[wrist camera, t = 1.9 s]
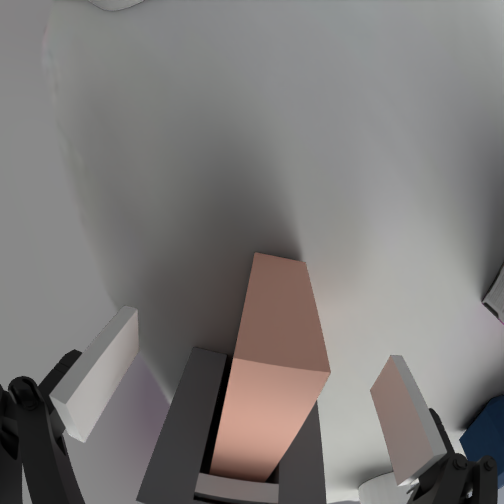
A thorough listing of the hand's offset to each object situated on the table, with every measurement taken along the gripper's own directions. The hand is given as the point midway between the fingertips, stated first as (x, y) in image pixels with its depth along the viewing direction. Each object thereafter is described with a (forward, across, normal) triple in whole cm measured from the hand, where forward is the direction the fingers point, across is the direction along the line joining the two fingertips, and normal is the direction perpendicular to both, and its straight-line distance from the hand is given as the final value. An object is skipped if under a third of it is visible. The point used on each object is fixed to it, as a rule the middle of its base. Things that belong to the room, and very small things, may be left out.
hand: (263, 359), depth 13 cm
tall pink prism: (+5, 0, -4) cm, 7 cm away
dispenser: (+5, 0, -9) cm, 10 cm away
